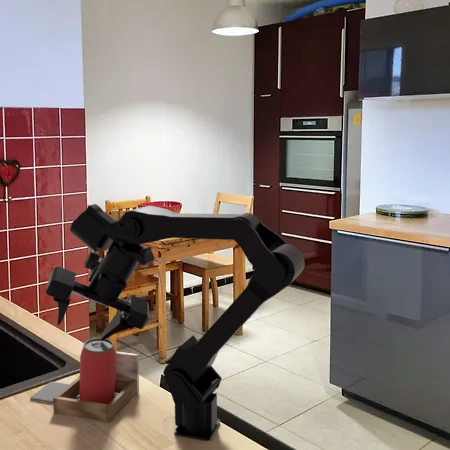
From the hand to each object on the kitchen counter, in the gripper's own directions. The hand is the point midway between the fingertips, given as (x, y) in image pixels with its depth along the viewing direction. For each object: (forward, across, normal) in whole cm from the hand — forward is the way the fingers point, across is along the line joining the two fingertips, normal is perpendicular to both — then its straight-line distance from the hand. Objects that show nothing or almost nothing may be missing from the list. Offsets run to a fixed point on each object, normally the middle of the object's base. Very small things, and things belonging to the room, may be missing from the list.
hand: (80, 331), depth 107 cm
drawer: (+11, -9, +5) cm, 15 cm away
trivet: (+16, -2, 0) cm, 16 cm away
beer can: (+11, -9, +5) cm, 14 cm away
